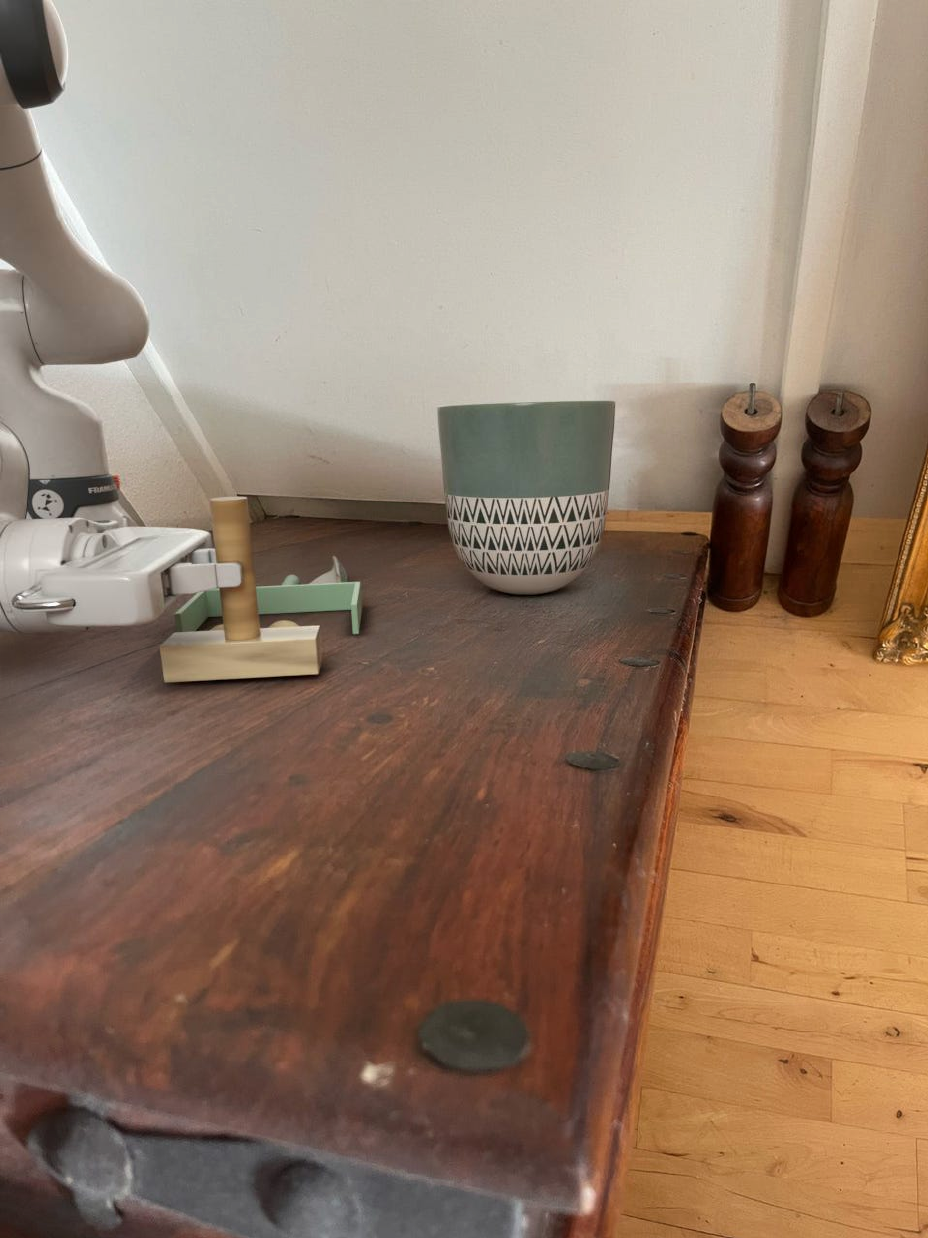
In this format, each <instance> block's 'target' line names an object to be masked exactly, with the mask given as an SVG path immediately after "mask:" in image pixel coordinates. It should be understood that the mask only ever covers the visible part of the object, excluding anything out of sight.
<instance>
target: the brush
mask: <svg viewBox="0 0 928 1238" xmlns="http://www.w3.org/2000/svg"><path fill="white" fill-rule="evenodd" d="M248 501H249V500H248V497H247V496H224V497H223V496H221V497H214V498H213V497H212V498H210V499H209V508H210V517H211V526H212V535H213V544H214V549H215V554H216V563H218V562H219V561H235V560H238V561H240V562H242V564H243V567H244V580H243V581H242V583H241V584H240V585H239V586H237V587H223V588H218V589H219V590H220V598H221V607H222V616H221V617H222V624H223V625H224V630H215V631H210V630H198V631H197V630H196V631H195V632H173V633H171V634H170V635H169V636H168V637H167V639H166V640H164V642H162V644H161V645H160V646H159V654H160V660H161V667H162V668H161V669H162V675H163V682H164V683H183V682H199V681H200V682H202V681H203V682H204V681H218V680H221V681H222V680H239V679H255V678H256V679H257V678H275V677H293V676H308V675H309V676H310V675H319V673H320V670H321V666H322V662H323V658H324V657H323V647H322V646H323V645H322V634H321V632H322V631H321V626H320V625H301V626H300V625H298V627H277V628H268V627H261V623H260V622H261V621H260V614H259V611H258V601H257V591H256V587H257V581H256V571H255V561H254V551H253V543H252V540H253V539H252V533H251V531H252V530H251V520H250V511H249V502H248Z"/></svg>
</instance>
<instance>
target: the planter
mask: <svg viewBox="0 0 928 1238" xmlns="http://www.w3.org/2000/svg"><path fill="white" fill-rule="evenodd" d="M436 413H437V414H436V415H437V417H436V418H437V430H438V440H439V449H440V461H441V471H442V474H441V475H442V484H443V492H444V493H443V494H444V505H445V513H446V522H447V528H448V533H449V536H450V540H451V542H452V545H453V548H454V550H455V553H456V555H457V557H458V559H459V560H460V562H461V564H463V566H464V567H465V569H466V570H467V571H468V572H469V573H470V574H471V575H472V576H473V577H475V579H477V580H478V581H479V582H481V583H482V584H483V585H485V586H487V587H488V588H490V589H492V590H495V591H498V592H501V593H505V594H511V595H519V596H520V595H526V596H531V595H541V594H547V593H551V592H554V591H557V590H559V589H562V588H564V587H566V586H567V585H569V584H570V583H572V582H573V581H575V579H577V578H578V577H579V576H580V575H581V574H583V572H584V571H585V570H586V569H587V568H588V566H589V565H590V564H591V563H592V561H593V560H594V558H595V556H596V555H597V553H598V551H599V548H600V547H601V543H602V540H603V538H604V537H603V536H604V532H605V528H606V524H607V516H608V508H609V495H610V494H609V493H610V486H611V485H610V484H611V483H610V482H611V473H612V471H611V469H612V457H613V446H614V445H613V444H614V432H615V418H616V401H615V400H561V401H560V400H557V401H555V400H554V401H522V402H521V401H519V402H495V403H494V402H493V403H492V402H491V403H471V404H470V403H469V404H468V403H467V404H451V405H439V406H437V407H436Z"/></svg>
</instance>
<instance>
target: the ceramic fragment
mask: <svg viewBox="0 0 928 1238" xmlns="http://www.w3.org/2000/svg"><path fill="white" fill-rule="evenodd" d="M331 559H332V567H331V570H330V571H328V572H325V573H323V574H322V575H320V576H318V577H316V578H315V579H314V580H313V581H311V582H309V584H324V583H344V582H348V575H347V571H346V569H345V568H344V566H343V565H342V564H341V562H340V561H339V559H338V557H337V556H335V555H333V556H332V558H331Z"/></svg>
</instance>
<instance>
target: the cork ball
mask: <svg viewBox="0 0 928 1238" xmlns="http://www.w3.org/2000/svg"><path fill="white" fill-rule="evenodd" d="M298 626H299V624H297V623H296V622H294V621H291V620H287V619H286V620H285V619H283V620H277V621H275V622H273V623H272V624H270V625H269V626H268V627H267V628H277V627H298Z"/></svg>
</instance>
